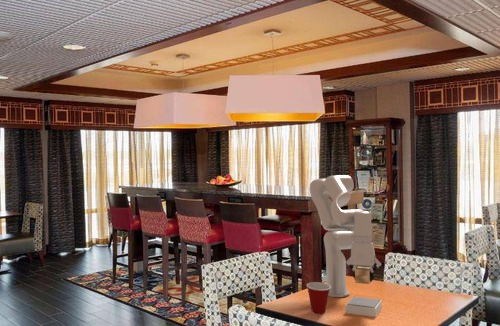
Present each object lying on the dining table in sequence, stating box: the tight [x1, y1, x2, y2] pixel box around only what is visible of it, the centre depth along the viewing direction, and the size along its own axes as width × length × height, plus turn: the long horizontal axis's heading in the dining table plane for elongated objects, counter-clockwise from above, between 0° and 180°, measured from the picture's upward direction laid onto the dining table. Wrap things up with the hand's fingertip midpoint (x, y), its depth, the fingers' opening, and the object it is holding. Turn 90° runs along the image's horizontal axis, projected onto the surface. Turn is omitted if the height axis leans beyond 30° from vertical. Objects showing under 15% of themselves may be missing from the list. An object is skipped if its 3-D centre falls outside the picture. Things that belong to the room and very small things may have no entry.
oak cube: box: [354, 266, 372, 285], centre depth 212 cm, size 6×6×6 cm
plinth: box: [344, 296, 383, 318], centre depth 213 cm, size 13×13×4 cm
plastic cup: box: [305, 281, 331, 315], centre depth 212 cm, size 11×11×12 cm
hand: (363, 279), depth 212 cm, fingers closed on oak cube, 6 cm apart
